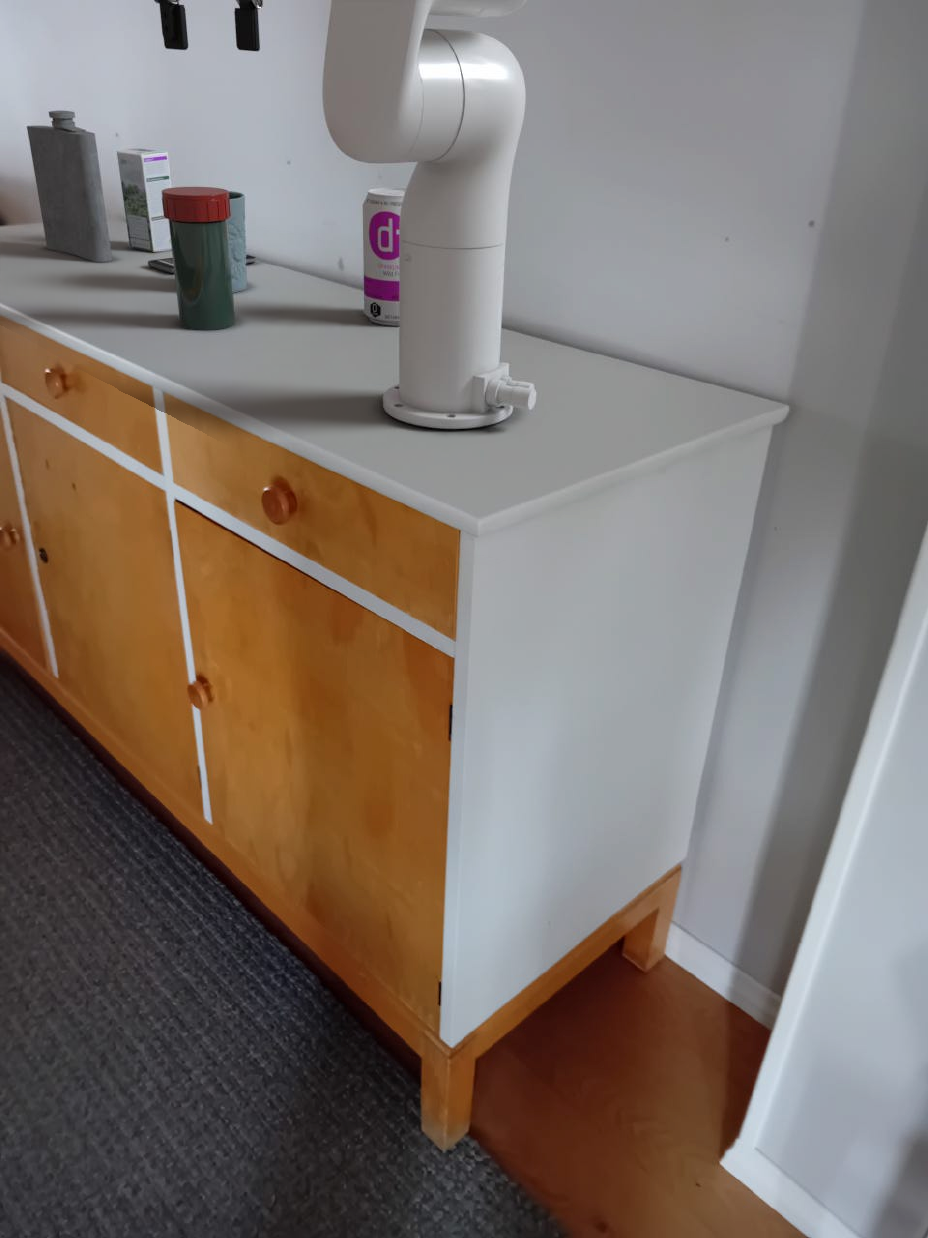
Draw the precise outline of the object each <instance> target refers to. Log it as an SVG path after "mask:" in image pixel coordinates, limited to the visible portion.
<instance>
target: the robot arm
mask: <svg viewBox="0 0 928 1238" xmlns="http://www.w3.org/2000/svg"><path fill="white" fill-rule="evenodd" d="M153 1H154V3H156V4H157V5H158V4H159V14H160V24H161V33H162V37H163V45H164V48H165V49H167V50H177V51H187V50H188V49H189V38H188V25H187V15H186V14H187V13H186V7H185V4H180V0H153ZM235 1H236V3H237V5H238V7H234V12H233V13H234V27H235V28H234V29H235V42H236V43H235V44H236V48H237V50H239V51H247V52H259V51H260V50H261V41H260V24H259V23H260V22H259V21H260V20H259V10H261V9H262V8H263V6H264V0H235ZM527 1H528V0H331V2H330V11H329V19H328V25H327V26H328V28H327V35H326V41H325V42H326V43H325V50H324V52H325V53H324V60H323V69H322V70H323V71H322V83H321V84H322V85H321V86H322V88H321V89H322V90H321V91H322V93H321V96H322V99H321V100H322V109H323V110H322V111H323V115H324V121H325V124H326V127H327V130H328V133H329V135H330V137H331V139H332V141H333V142H334V144H335V146H336V147H337V148H338V149H339V150H340V151H341V152H342V153H343V154H344V155H345V156H347V157H348V158H350V159H352V160H354V161H357V162H360V163H365V164H380V165H381V164H402V163H403V164H405V163H416V165H415V167H414V168H413V171H412V173H411V176H410V178H409V181H408V182H407V185H406V188H405V189H406V191H405V194H404V197H403V201H402V205H401V211H400V231H399V326H398V369H399V370H398V377H399V378H398V384H394V385H393V386H391V387H390V388H388V389H387V390H386V391H385V392H383V396H382V407H383V410H384V411H385V413H387V414H388V415H389V416H391V417H392V418H393V419H396V420H398V421H400V422H403V423H405V424H410V425H414V426H418V427H423V428H432V429H440V430H441V429H442V430H443V429H444V430H461V429H462V430H463V429H465V430H466V429H475V428H476V429H477V428H482V427H487V426H491V425H496V424H498V423H500V422H502V421H504V420H506V419H507V418H509V416H511V415H512V413H513V411H514V408H517V409H521V410H527V411H531V410H533V409H534V407H535V405H536V402H537V390H536V389H535V385H534V383H533V382H528V381H521V380H519V381H518V380H513V379H512V378H513V377H511V376H509V375H510V363H508V362H502V361H500V358H501V340H502V338H501V337H502V322H503V321H502V320H503V301H504V285H505V263H506V244H507V231H508V215H509V202H510V201H509V200H510V190H511V182H512V175H513V169H514V163H515V158H516V153H517V149H518V146H519V141H520V137H521V132H522V128H523V124H524V119H525V111H526V104H527V103H526V102H527V94H526V93H527V92H526V83H525V82H526V81H525V78H524V73H523V70H522V68H521V65H520V63H519V61H518V60H517V58H516V57H515V54H514V53H513V52H512V51H511V50H510V49H509V47H507V46H506V45H505V44H504V43H503V42H501V41H500V40H498V39H496V38H494V37H493V36H490V35H487V34H484V33H481V32H477V31H471V30H465V29H464V30H463V29H449V28H447V29H445V28H425V26H426V22H427V19H428V16H437V17H439V16H440V17H458V18H459V17H462V18H497V17H499V18H500V17H506V16H508V15H511V14H513V13H514V14H515V12H517V11H518V10H520V9H521V8H522V7H524V6H525V4H526V3H527Z"/></svg>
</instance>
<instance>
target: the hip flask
mask: <svg viewBox="0 0 928 1238" xmlns="http://www.w3.org/2000/svg"><path fill="white" fill-rule="evenodd" d="M48 118H50V119H52V120H51V125H27V126H26V130H27V136H28V142H29V148H30V154H31V159H32V166H33V172H34V178H35V183H36V190H37V196H38V202H39V208H40V214H41V219H42V220H41V221H42V226H43V232H44V238H45V243H46V244H45V245H46V249H47V250H52V251H57V252H61V253H67V254H70V255H74V256H77V257H80V258H83V259H85V260H88V261H90V262H93V263H108V262H112V261H113V255H112V248H111V240H110V235H109V233H110V232H109V228H108V226H109V225H108V220H107V213H106V205H105V198H104V191H103V182H102V176H101V169H100V162H99V154H98V148H97V147H98V146H97V139H96V133H95V132H92V131H91V132H90V131H87V130H86V129H83V128H81V127H78V126H76V122H75V121H74V119H76V112H75V111H71V110H51V111H50V110H49V111H48Z"/></svg>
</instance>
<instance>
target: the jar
mask: <svg viewBox="0 0 928 1238" xmlns="http://www.w3.org/2000/svg"><path fill="white" fill-rule="evenodd" d="M169 228H170V237H171V246H172V249H171V255H172V258H173V264H174V273H173V274H174V282H175V291H176V299H177V300H176V301H177V309H178V318H179V319H178V320H179V325H180V326H181V327H183V328H185V329H189V330H194V331H195V330H196V331H214V330H215V331H216V330H222V329H227V328H231V327H233V326H235V324H236V313H235V301H234V300H235V299H234V292H233V287H232V275H231V263H230V250H229V238H228V226H227V219H226V220H221V221H213V222H182V221H174V220H169Z"/></svg>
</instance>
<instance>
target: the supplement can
mask: <svg viewBox="0 0 928 1238" xmlns="http://www.w3.org/2000/svg"><path fill="white" fill-rule="evenodd" d="M405 191H406V188H403V187H379V188H372V189H368V190H367V195H366V197H365V199H364V201H363V202H362V247H363V248H362V252H363V253H362V255H363V256H362V257H363V258H362V259H363V307H364V308H363V313H364V315H366V317H367V318H368V319H369V321H371V322H373V323H375V324H378V325H384V326H394V327H397V326H398V327H399V231H400V211H401V205H402V201H403V197H404V194H405Z"/></svg>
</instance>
